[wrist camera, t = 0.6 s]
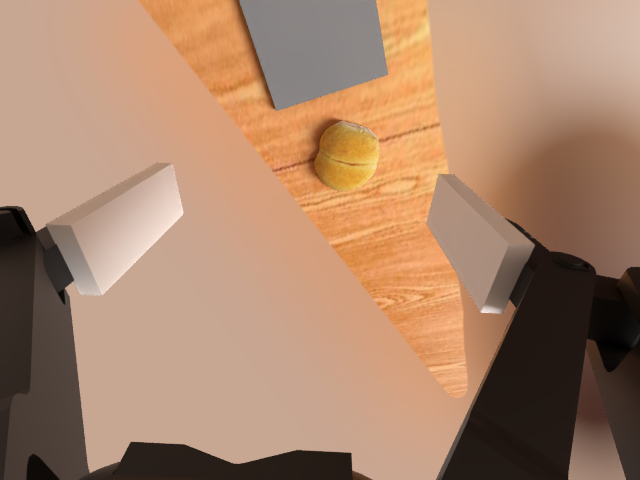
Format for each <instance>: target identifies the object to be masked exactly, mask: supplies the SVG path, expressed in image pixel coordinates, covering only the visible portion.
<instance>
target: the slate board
mask: <svg viewBox="0 0 640 480" xmlns="http://www.w3.org/2000/svg"><path fill="white" fill-rule="evenodd" d="M239 2H240V5H241V8H242V11H243V14H244V17H245V20H246V23H247V26H248V28H249V31H250V34H251V37H252V40H253V43H254V46H255V49H256V52H257V55H258V58H259V61H260V64H261V67H262V70H263V73H264V76H265V79H266V82H267V85H268V88H269V91H270V94H271V97H272V99H273V102H274V105H275V108H276V111H278V110H281V109H285V108H288V107H291V106H294V105H297V104H300V103H303V102H306V101H309V100H312V99H315V98H318V97H321V96H324V95H327V94H330V93H334V92H337V91H340V90H343V89H346V88H349V87H352V86H355V85H358V84H361V83H364V82H367V81H370V80H373V79H376V78H379V77H383V76H386V75H388V72H387V66H386V59H385V53H384V47H383V41H382V35H381V29H380V22H379V16H378V10H377V4H376V0H239Z"/></svg>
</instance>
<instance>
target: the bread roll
mask: <svg viewBox="0 0 640 480" xmlns="http://www.w3.org/2000/svg"><path fill="white" fill-rule="evenodd" d="M319 146H320V150H319V153H318V155H317V157H316V159H315V162H314V166H315V171H316V173H317V175H318V176H319V178H320V179H321V181H322V182H323V183H325V184H326V185H327V186H329V187H330V188H332V189H334V190H338V191H350V190H354V189H356V188H358V187H360V186H362V185H363V184H364V183H365V182H366V181H368V180H369V179H370V178H371V176H372V175H373V173H374V171H375V169H376V166H377V162H378V159H379V142H378V139H377V137H376V136H375V134H374V133H373V132H372V131H371V130H370V129H368V128H366V127H363V126H361V125H358V124H354V123H350V122H349V123H348V122H345V121H340V122H338V123H336V124H334V125H332V126H330V127H329V128H327V129H326V131H325V132H324V134H323V135H322V137H321V140H320V145H319Z"/></svg>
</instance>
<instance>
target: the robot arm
mask: <svg viewBox="0 0 640 480" xmlns="http://www.w3.org/2000/svg"><path fill="white" fill-rule="evenodd" d="M183 214H184V213H183V208H182V204H181V200H180V195H179V190H178V186H177V181H176V177H175V173H174V168H173V164H172V163H156V164H154V165H152V166H150V167H149V168H147V169H145V170H143V171H141V172H139V173H138V174H136V175H134V176H132V177H130V178H129V179H127V180H125V181H123V182H121V183H120V184H118V185H116V186H114V187H112V188H110V189H109V190H107V191H105V192H103V193H101V194H100V195H98V196H96V197H94V198H92V199H91V200H89V201H87V202H85V203H83V204H82V205H80V206H78V207H76V208H74V209H72V210H71V211H69V212H67V213H65V214H63V215H62V216H60V217H58V218H56V219H54V220H53V221H51V222H49V223H47V224H46V227H44V228H43V229H41V230H39V231H37V232H35V230H34V228H33V226H32V225H31V222H30V220H29V219H28V217H27V215H26V213H25V211H24V209H23V208H22V207H18V206H6V207H0V480H372V479H370V478H368V477H366V476H364V475H362V474H360V473H357V472H354V471H352V458H351V453H342V452H323V451H303V450H296V451H292V452H287V453H283V454H279V455H275V456H271V457H267V458H263V459H259V460H255V461H251V462H246V463H242V464H233V463H230V462H227V461H225V460H223V459H220V458H217V457H215V456H212V455H210V454H207V453H204V452H202V451H200V450H197V449H195V448H192V447H189V446H187V445H183V444H164V443H144V442H131V443H130V445H129V447H128V448H127V451H126V452H125V454H124V456H123V458H122V459H121V462H117V463H114V464H112V465H109V466H106V467H103V468H101V469H98V470H96V471H94V472H92V473H89V469H88V464H87V455H86V446H85V437H84V427H83V418H82V409H81V400H80V391H79V381H78V372H77V363H76V353H75V344H74V335H73V326H72V316H71V308H70V298H69V295H68V294H67V292H66V290H65V287H67V286H68V285H69V284H70V283H71V282H73V281H74V282H75V285H76V287H77V289H78V291H79V293H80V295H101V296H102V295H103V294H104V293H105V292H106V291H107V290H108V289H109V288H110V287H111V286H112V285H113V284H114V283H115V282H116V281H117V280H118V279H119V278H120V277H121V276H122V275H123V274H124V273H125V272H126V271H127V270H128V269H129V268H130V267H131V266H132V265H133V264H134V263H135V262H136V261H137V260H138V259H139V258H140V257H141V256H142V255H143V254H144V253H145V252H146V251H147V250H148V249H149V248H150V247H151V246H152V245H153V244H154V243H155V242H156V241H157V240H158V239H159V238H160V237H161V236H162V235H163V234H164V233H165V232H166V231H167V230H168V229H169V228H170V227H171V226H172V225H173V224H174V223H175V222H176V221H177V220H178V219H179V218H180V217H181V216H182V215H183ZM427 226H428V227H429V229H430V230H431V232H432V234H433V235H434V237H435V239H436V240H437V242H438V244H439V245H440V247H441V248H442V250H443V252H444V253H445V255H446V257H447V258H448V260H449V262H450V263H451V265H452V266H453V268H454V270H455V271H456V273H457V275H458V276H459V278H460V280H461V281H462V283H463V284H464V286H465V288H466V289H467V291H468V293H469V294H470V296H471V298H472V299H473V301H474V302H475V304H476V306H477V307H478V309H479V310H480V312H482V313H504V310H505V308H506V306H507V304H508V302H509V300H511V302H512V303H513V304H514V306H515V307H516V310H515V312H514V314H513V316H512V318H511V320H510V322H509V324H508V326H507V328H506V330H505V333H504V335H503V338H502V339H501V342H500V344H499V346H498V348H497V350H496V352H495V354H494V357H493V359H492V361H491V363H490V365H489V367H488V369H487V372H486V374H485V376H484V378H483V380H482V382H481V384H480V387H479V389H478V391H477V393H476V395H475V397H474V399H473V402H472V404H471V406H470V408H469V410H468V412H467V415H466V417H465V419H464V421H463V423H462V425H461V427H460V429H459V432H458V434H457V436H456V438H455V440H454V442H453V445H452V447H451V449H450V451H449V453H448V455H447V457H446V459H445V462H444V464H443V466H442V468H441V470H440V472H439V474H438V477H437V479H436V480H568V470H569V464H570V456H571V449H572V442H573V435H574V428H575V421H576V414H577V407H578V399H579V391H580V385H581V378H582V371H583V364H584V356H585V349H587V352H588V356H589V359H590V362H591V365H592V369H593V372H594V375H595V378H596V382H597V385H598V388H599V392H600V395H601V398H602V402H603V405H604V408H605V411H606V415H607V418H608V421H609V425H610V428H611V431H612V434H613V438H614V441H615V444H616V448H617V451H618V454H619V457H620V461H621V464H622V467H623V470H624V474H625V477H626V480H640V267H630V268H628V269H627V270H626V271H625V273H624V274H623V275H622V277H621V278H620V279H615V278H610V277H605V276H600V275H596V270H595V268H594V267H593V266H592V265H591V264H589V263H588V262H586V261H584V260H582V259H580V258H578V257H576V256H573V255H570V254H566V253H562V252H553V251H552V252H550V251H549V250H548V249H546V248H545V247H544V246H543V245H542V244H541V243H539V242H538V241H537V240H536V239H534V238H532V236H531V235H530V234H529V233H527V232H526V231H525V230H524V229H523V228H522V227H520V226H519V225H518V224H516V223H514V222H512V221H510V220H508V219H506V218H504V217H502V216H501V215H500V214H499V213H498V212H497V211H496V210H494V209H493V208H492V207H491V206H490V205H489V204H487V203H486V202H485V201H484V200H483V199H482V198H481V197H479V196H478V195H477V194H476V193H475V192H474V191H473V190H471V189H470V188H469V187H468V186H467V185H466V184H465V183H463V182H462V181H461V180H460V179H459V178H458V177H456V176H455V175H452V174H438V178H437V182H436V187H435V191H434V195H433V199H432V203H431V207H430V212H429V216H428V220H427Z"/></svg>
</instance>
